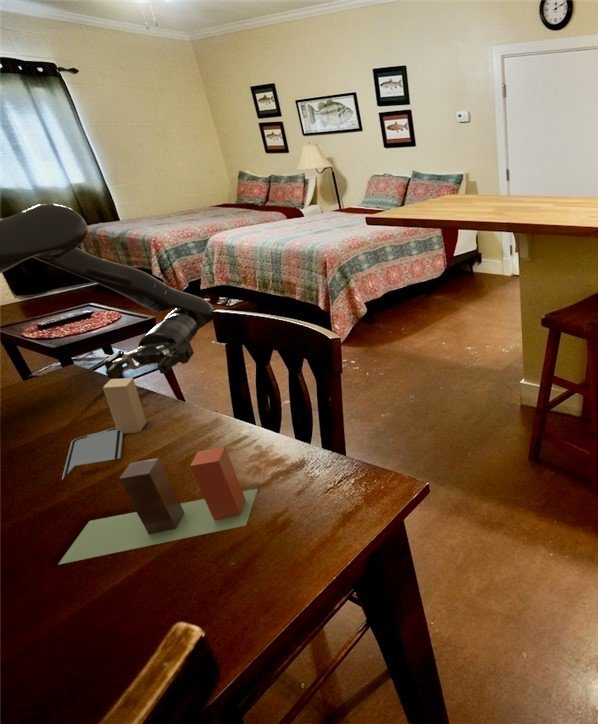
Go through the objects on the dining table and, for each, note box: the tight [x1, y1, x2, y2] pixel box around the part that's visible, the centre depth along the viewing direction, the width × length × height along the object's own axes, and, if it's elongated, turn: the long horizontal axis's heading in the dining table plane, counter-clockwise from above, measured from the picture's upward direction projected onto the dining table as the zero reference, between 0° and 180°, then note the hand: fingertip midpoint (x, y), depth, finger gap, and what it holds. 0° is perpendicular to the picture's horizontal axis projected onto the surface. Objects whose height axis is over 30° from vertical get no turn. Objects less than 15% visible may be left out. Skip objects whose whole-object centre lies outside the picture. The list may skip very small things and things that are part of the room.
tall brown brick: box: [118, 457, 184, 534], centre depth 66 cm, size 3×3×10 cm
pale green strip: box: [57, 488, 259, 566], centre depth 68 cm, size 22×8×1 cm, turn 107°
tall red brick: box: [189, 446, 246, 520], centre depth 68 cm, size 3×3×10 cm
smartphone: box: [61, 427, 124, 480], centre depth 83 cm, size 7×1×15 cm
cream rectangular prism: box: [102, 377, 147, 435], centre depth 89 cm, size 3×3×10 cm
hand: (136, 372), depth 94 cm, fingers open, 8 cm apart
